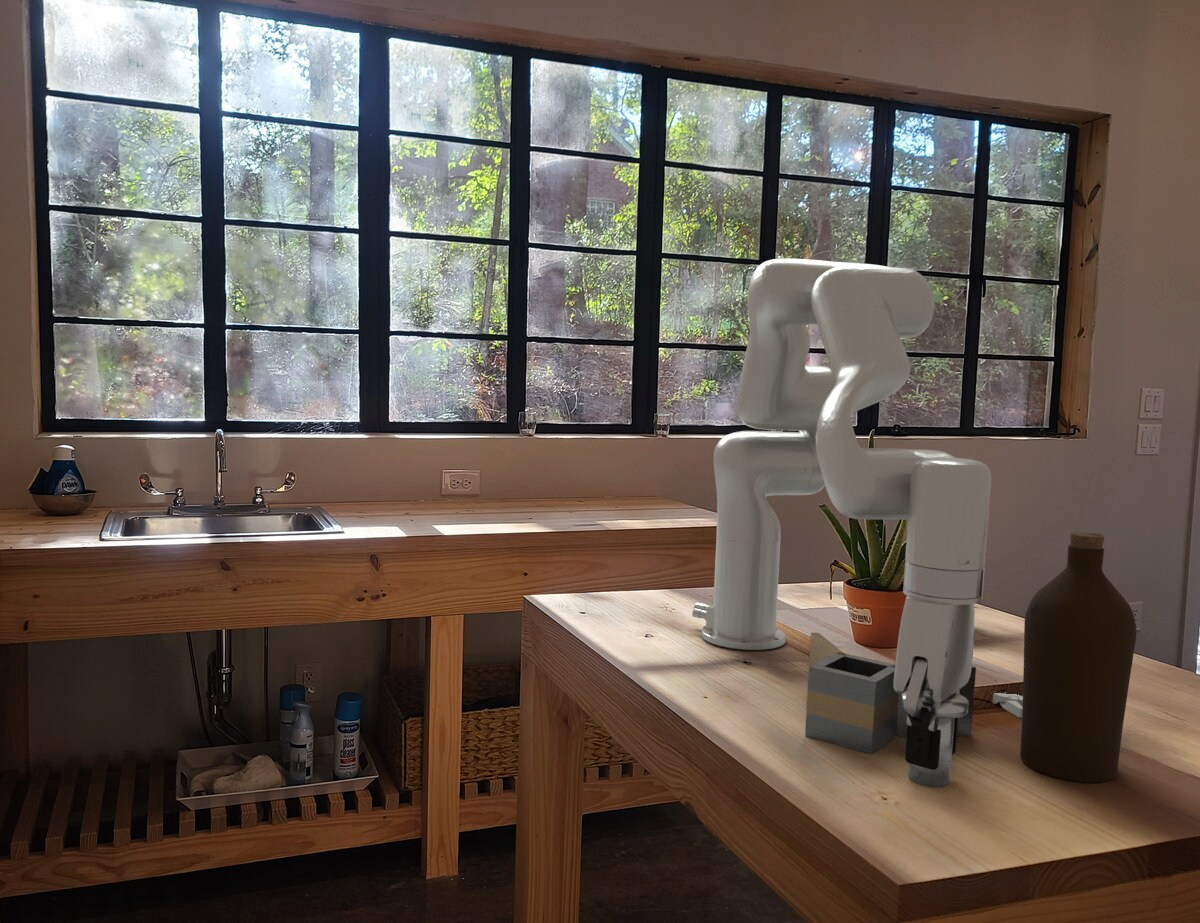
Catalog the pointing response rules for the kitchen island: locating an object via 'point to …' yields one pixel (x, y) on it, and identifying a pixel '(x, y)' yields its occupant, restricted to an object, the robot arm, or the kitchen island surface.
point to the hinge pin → (946, 714)
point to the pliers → (1010, 702)
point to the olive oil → (1076, 669)
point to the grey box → (859, 699)
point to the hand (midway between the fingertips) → (930, 756)
